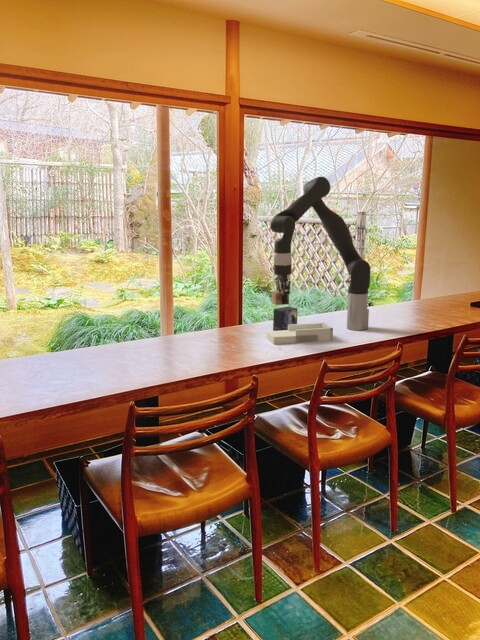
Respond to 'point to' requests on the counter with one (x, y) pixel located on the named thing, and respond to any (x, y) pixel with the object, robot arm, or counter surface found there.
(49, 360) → the counter surface
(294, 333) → the channel
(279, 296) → the block
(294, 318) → the small box
